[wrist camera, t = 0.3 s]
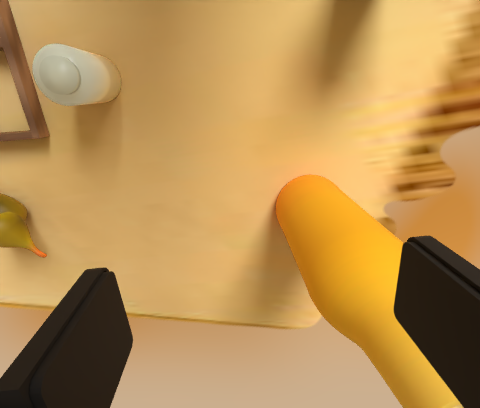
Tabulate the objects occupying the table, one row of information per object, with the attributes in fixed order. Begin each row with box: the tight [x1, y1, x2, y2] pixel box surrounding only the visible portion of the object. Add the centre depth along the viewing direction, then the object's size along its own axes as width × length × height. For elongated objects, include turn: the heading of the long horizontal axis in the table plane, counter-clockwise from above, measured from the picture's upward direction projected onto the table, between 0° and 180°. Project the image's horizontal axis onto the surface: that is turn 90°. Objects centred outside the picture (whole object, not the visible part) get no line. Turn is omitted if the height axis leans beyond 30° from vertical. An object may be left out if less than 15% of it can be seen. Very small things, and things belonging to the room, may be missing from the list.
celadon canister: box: [33, 44, 121, 106], centre depth 29 cm, size 5×5×9 cm
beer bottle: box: [276, 175, 464, 408], centre depth 27 cm, size 9×9×29 cm
